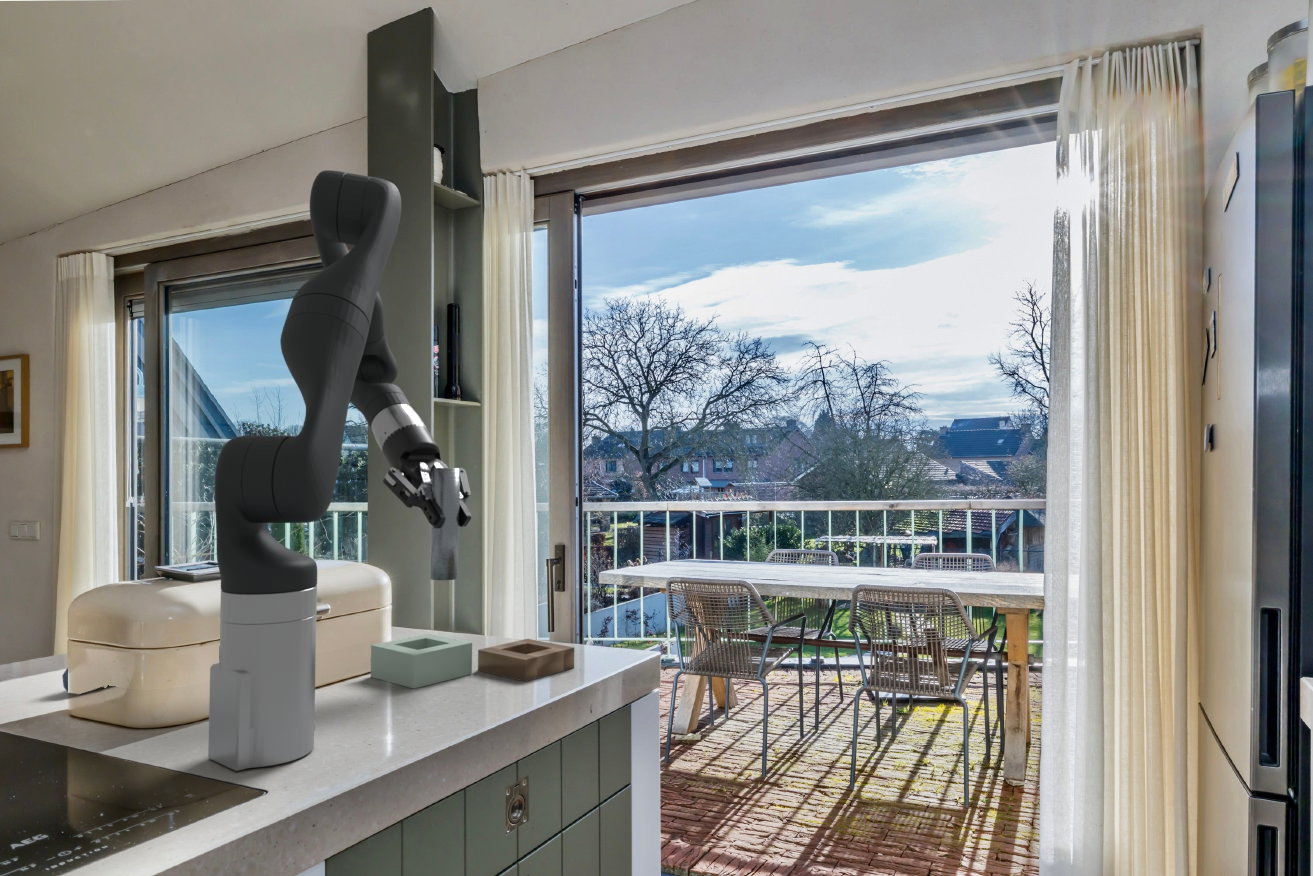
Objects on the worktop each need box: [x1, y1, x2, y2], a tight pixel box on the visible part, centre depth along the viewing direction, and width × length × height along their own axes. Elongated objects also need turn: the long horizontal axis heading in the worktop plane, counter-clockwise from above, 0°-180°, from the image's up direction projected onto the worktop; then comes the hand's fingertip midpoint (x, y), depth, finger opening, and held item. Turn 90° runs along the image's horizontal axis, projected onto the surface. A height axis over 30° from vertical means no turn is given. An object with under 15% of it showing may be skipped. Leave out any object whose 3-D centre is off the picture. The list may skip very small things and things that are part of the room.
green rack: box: [370, 633, 473, 689], centre depth 119 cm, size 10×10×4 cm
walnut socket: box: [477, 638, 575, 682], centre depth 123 cm, size 10×10×3 cm
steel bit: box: [429, 467, 461, 581], centre depth 120 cm, size 4×4×16 cm
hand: (453, 523), depth 119 cm, fingers closed on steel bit, 4 cm apart
